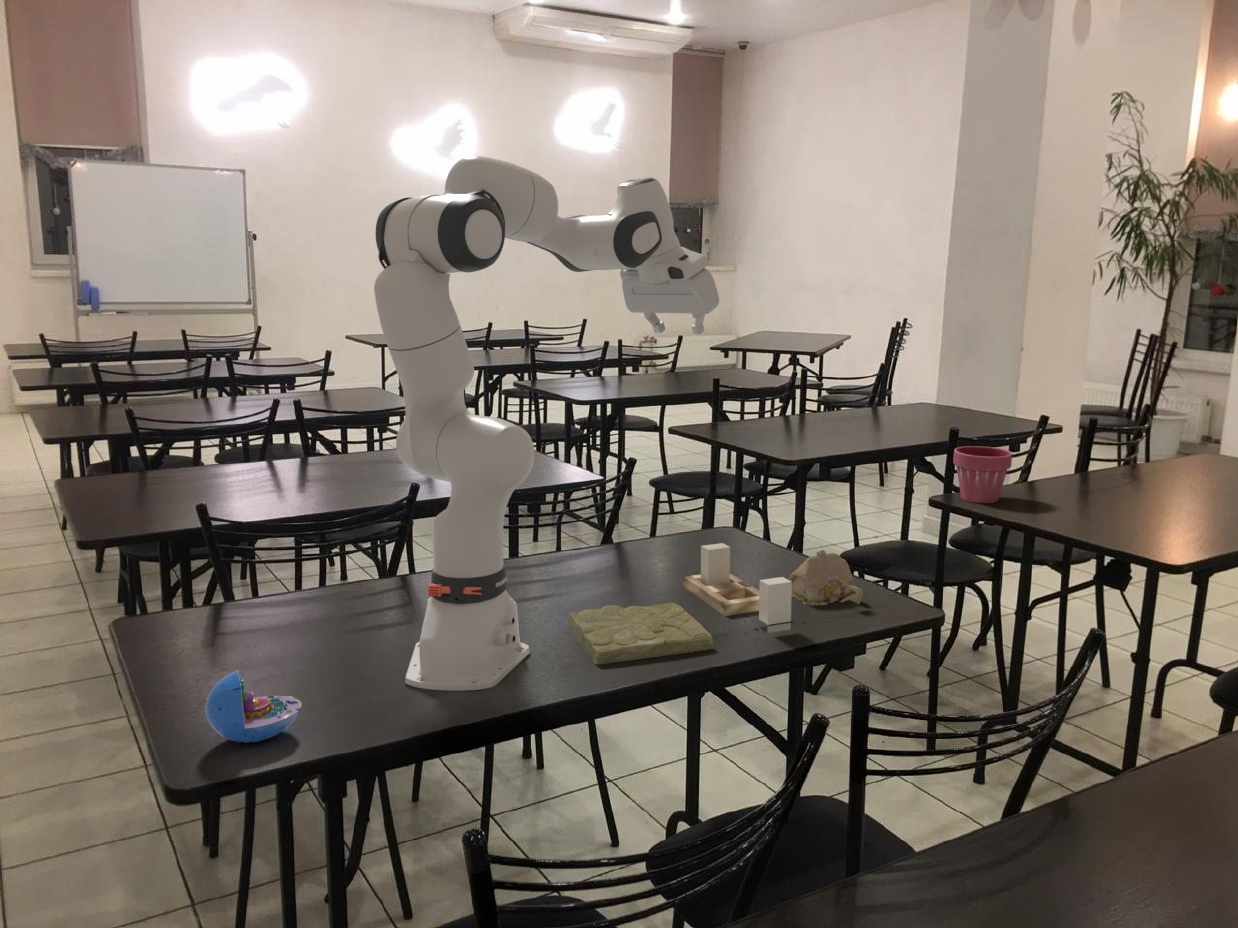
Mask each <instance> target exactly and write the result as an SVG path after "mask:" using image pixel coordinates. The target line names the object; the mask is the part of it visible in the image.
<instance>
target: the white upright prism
mask: <svg viewBox="0 0 1238 928" xmlns="http://www.w3.org/2000/svg"><path fill="white" fill-rule="evenodd" d="M730 573H731V547H730V546H729V545H727V544H725V543H724V542H722V543H721V542H719V543H712V544H705V545H703V544H702V545H700V574H701V583H703V584H704V585H706V586H712V585H719V584H726V583H730Z"/></svg>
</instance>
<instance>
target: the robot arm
mask: <svg viewBox="0 0 1238 928" xmlns="http://www.w3.org/2000/svg"><path fill="white" fill-rule="evenodd" d="M616 189H617V190H616V192H617V193H616V194H617V197H616V200H615V202H614V204H613V207H612V208H611V209H610V210H609V212H608V213H607V214H606V213H604V214H594V215H583V214H582V215H578V214H577V215H569V216H566V217H565V216H564V217H562V216H559V215H558V214H559V200H558V196H557V192H556V190H555V188H554V186H553V184H551V182H549V181H548V180H547V179H546V178H544V177H543V176H541V175H540V174H538V173H536V172H534V171H532V170H530V169H527V168H525V167H522V166H519V165H517V164H514V163H512V162H508V161H505V160H501V159H497V158H493V157H492V158H491V157H486V156H479V155H469V156H465V157H463V158H461V159H459V160H458V161H457V162H455V163H454V164H453V166H452V167H451V169H450V170H449V171H448V174H447V177H446V180H445V184H444V193H443V194H442V195H441V194H430V195H420V196H416V197H403V198H400V199H397V200H395V201H393V202H390V203H389V204H388V205H386V206H385V207H383V209H382V210H381V211H380V212H379V215H378V216H377V220H376V223H375V243H376V247H377V251H378V261H379V263H380V265H381V266H382V268H383V270H382V271H381V272H379V274H378V275H377V277H376V279H375V282H374V287H373V290H374V291H373V292H374V298H375V304H376V309H377V314H378V319H379V322H380V325H381V326H380V327H381V330H382V335H383V336H384V339H385V342H386V344H387V345H386V346H387V348H388V351H389V353H390V356H391V359H392V362H393V365H394V368H395V371H396V373H397V376H398V379H399V382H400V385H401V388H402V392H403V396H404V397H403V398H404V407H405V418H404V420H403V421H402V423H401V424H400V426H399V428H398V431H397V434H396V438H395V439H396V440H395V448H396V452H397V455H398V458H399V460H400V461H401V463H402V464H403V465H404V466H405V467H407V468H409V469H410V470H412V471H414V472H416V473H417V474H419V475H422V476H423V477H426V478H428V479H433V480H440V481H445V482H449V483H450V485H451V489H450V491H451V492H450V497H449V501H448V505H447V506H446V508H445V509H443V510H442V511H441V512H439V513H438V514H437V515H436V516H435V518H434V519H433V521H432V524H431V537H432V538H431V539H432V555H433V556H432V558H433V559H432V561H433V567H432V569H431V571H430V572H431V575H430V579H429V584H428V586H427V587H428V588H427V595H428V597H429V598H428V599H427V600H426V604H427V605H426V608H425V613H424V618H423V621H422V628H421V630H420V637H419V641H418V642H416V643H415V645H414V649H413V652H412V654H411V655H412V656H411V659H410V661H409V665H408V667H407V671H406V674H405V680H404V683H405V684H406V685H408V686H411V687H414V688H419V689H424V690H434V691H452V692H453V691H456V692H457V691H458V692H459V691H475V690H476V691H477V690H484V689H490V688H493V687H495V686H496V685H497V684H499V683H500V682H501V680H503V679H504V678H505V677H506V676H508V674H509V673H511V671H512V670H513V669H514V668H516V666H518V665H519V663H521V662H522V661H523V660H524V659H525V658H526V657H527V656H528V655H529V654H530V653H531V651H530V646H529V645H528V644H526V643H525V642H521V640H520V639H521V638H520V626H519V615H518V614H519V613H518V603H517V602H516V601H515V600H514V599H513V598H512V597H511V595H509V593H508V591H507V588H508V572H507V567H506V565H505V564H504V521H505V520H504V519H505V514H506V510H507V506H508V504H509V500H510V499H511V497H512V494H513V492H514V491H515V490H516V489H517V487H519V486H520V485H521V484H522V483H524V481H526V479H527V478H528V476H529V475H530V473H531V471H532V470H533V469H532V468H533V466H534V462H535V461H534V460H535V448H534V443H533V440H532V437H531V435H530V434H529V433H528V432H527V431H526V430H525V429H524V428H523V427H521V426H518V425H517V424H516V423H512V422H511V421H508V420H505V419H503V418H501V417H500V418H499V417H493V416H488V415H487V416H486V415H478V414H472V413H471V412H470V411H469V410H468V408H467V406H466V402H465V389H467V388H468V386H469V385H470V383H471V382H472V381H473V378H474V376H475V375H474V374H475V366H474V363H473V360H472V359H473V358H472V357H471V354H470V353H471V352H470V350H469V347H468V344H467V342H466V339H465V336H464V333H463V329H462V326H461V323H460V321H459V318H458V315H457V312H456V310H455V307H454V305H453V302H452V300H451V297H450V288H449V287H450V286H449V285H450V278H451V274H453V273H454V274H455V273H461V272H462V273H474V272H478V271H482V270H485V269H487V268H490V267H491V266H493V264H495V263H496V261H497V260H498V259H499V257H500V255H501V253H502V251H503V248H504V245H505V244H504V243H505V239H508V240H512V241H517V242H522V243H527V244H529V245H531V246H534V247H536V248H539V249H541V250H543V251H546V252H548V253H550V254H551V255H553V256H554V257H555V258H556V259H557V260H558V261H559V262H560V263H561V265H563V266H564V267H565V268H566V269H568V270H569V271H572V272H576V273H583V272H590V271H591V272H592V271H604V270H605V271H609V270H610V271H611V270H614V271H615V270H620V272H619V274H620V279H621V283H622V284H621V285H622V292H623V298H624V302H625V306H626V309H627V310H628V311H629V312H630V313H634V314H635V313H636V314H637V313H641V314H642V313H643V315H644V318H645V319H646V320H647V322H648V323H649V324H650V325H651V326H652V329H653V331H654V333H655V334H661V333H662V334H663V332H664V331H665V330H666V326H665V322H664V320H660V318H659V317H658V315H657V314H691V315H692V318H693V319H695V321H694V324H692V325H691V330H692V334H693V335H702V334H703V333H704V332H705V327H704V319H705V316H706V315H707V314H710V313H711V312H713V311H715V310H716V309H717V308H718V306H719V304H720V296H719V292H718V289H717V285H716V281H715V279H714V276H713V274H712V273H711V272H710V270H709V269H707V268H706V267H707V266H708V264H709V263H708V257H707V256H706V255H705V254H702V253H699V252H696V251H694V250H691V249H688V248H687V247H684V246H681V243H680V240H679V238H678V236H677V235H676V233H675V229H674V217H673V214H672V210H671V205H670V204H669V201H668V197H667V194H666V193H665V189H664V187H663V186H662V184H661V183H660V181H659V180H658V179H656V178H653V177H642V178H636V179H631V180H626V181H623V182H621V183H620V184H618V185H617V187H616Z"/></svg>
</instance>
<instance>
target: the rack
mask: <svg viewBox="0 0 1238 928" xmlns="http://www.w3.org/2000/svg"><path fill="white" fill-rule="evenodd" d="M683 588H684V589H686V590H687V591H688V592H689V593H692V594H693V595H694V596H696V597H697V598H699V599H700V600H702V601H703V602H704V603H706V604H707V605H709V606H710V607H711V608H713V609H714V610H716V611H717V612H719V613H720V614H722V615H723V616H725V617H726V616H733V615H741V614H747V613H753V612H759V589H758V588H755V587H754V586H753V585H751V584H749V583H747V582H745V581H744V580H742V579H741V578H739V577H738V576H736V575H734V574H732V573H731V572H730V583H726V584H719V585H712V586H706V585H704V584H703V583H701V573H700V574H694V575H693V574H692V575H687V576H686V575H685V576H683Z"/></svg>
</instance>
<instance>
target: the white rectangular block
mask: <svg viewBox="0 0 1238 928" xmlns="http://www.w3.org/2000/svg"><path fill="white" fill-rule="evenodd" d="M758 590H759V611H758V620H759V621H761V622H762V623H764V624H766V625H767V626H762V627H761V626H760V627H759V629H761V631H764V632H765V633H766V634H771V633H779V632H785V631H790V630H792V622H791V621H792V598H791V596H792V582H791V581H789V578H788V579H787V578H785V577H784V576H781V577H780V576H779V577H773V578H766V579H759V589H758Z"/></svg>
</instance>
